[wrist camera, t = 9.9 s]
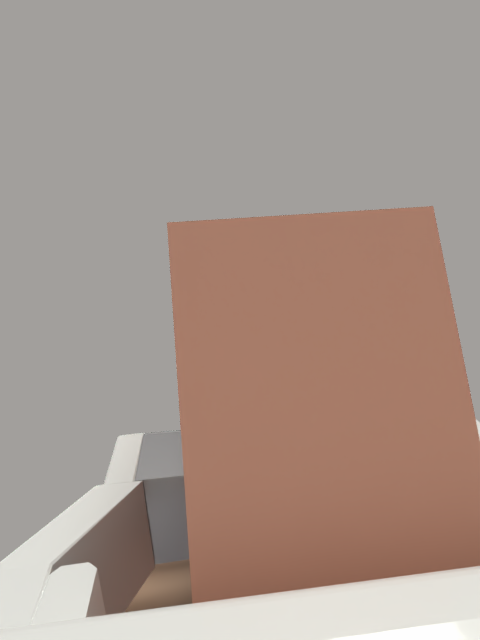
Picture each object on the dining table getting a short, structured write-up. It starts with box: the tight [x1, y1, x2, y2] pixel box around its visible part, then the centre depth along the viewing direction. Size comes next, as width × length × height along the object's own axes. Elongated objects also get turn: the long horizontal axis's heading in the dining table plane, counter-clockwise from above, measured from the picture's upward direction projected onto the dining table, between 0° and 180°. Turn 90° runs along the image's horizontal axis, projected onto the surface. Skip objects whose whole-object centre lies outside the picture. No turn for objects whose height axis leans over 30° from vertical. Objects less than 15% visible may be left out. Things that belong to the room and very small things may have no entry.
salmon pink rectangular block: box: [167, 206, 480, 604], centre depth 17 cm, size 24×4×8 cm, turn 4°
